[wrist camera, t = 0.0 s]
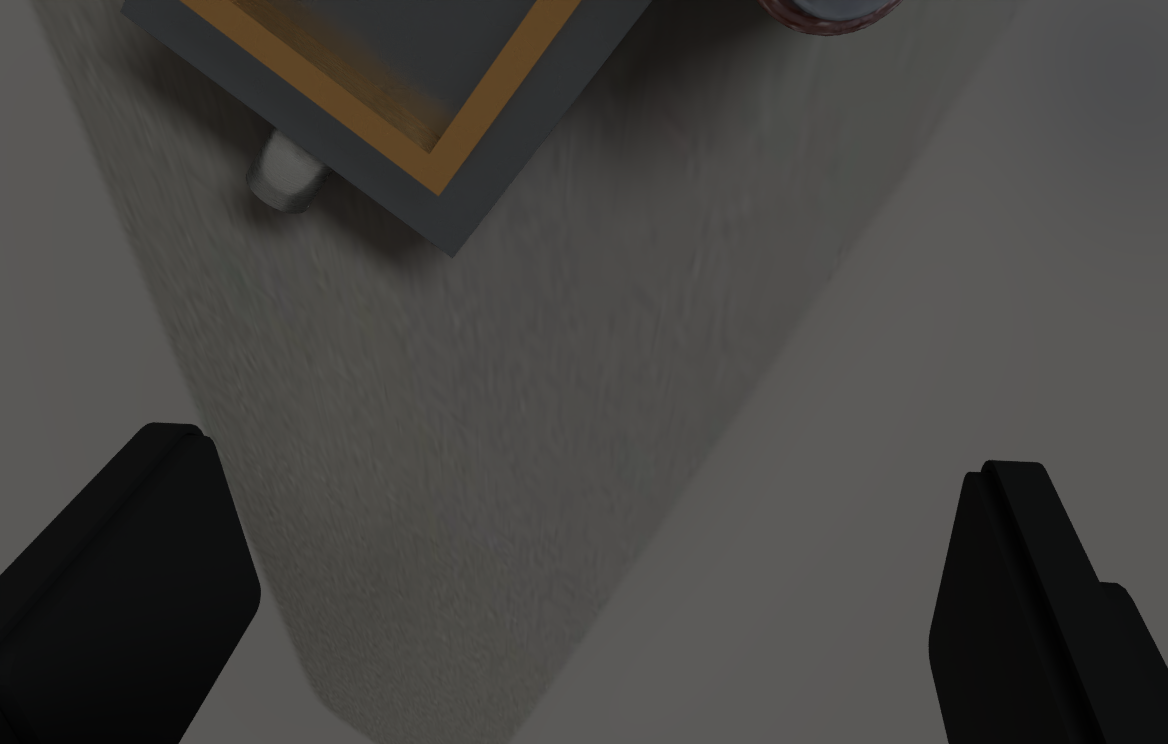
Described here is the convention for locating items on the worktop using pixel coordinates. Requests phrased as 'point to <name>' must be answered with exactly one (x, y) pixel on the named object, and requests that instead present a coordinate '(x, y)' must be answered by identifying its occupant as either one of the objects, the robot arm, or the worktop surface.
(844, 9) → the supplement bottle
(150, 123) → the worktop surface
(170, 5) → the grey orange open tray
